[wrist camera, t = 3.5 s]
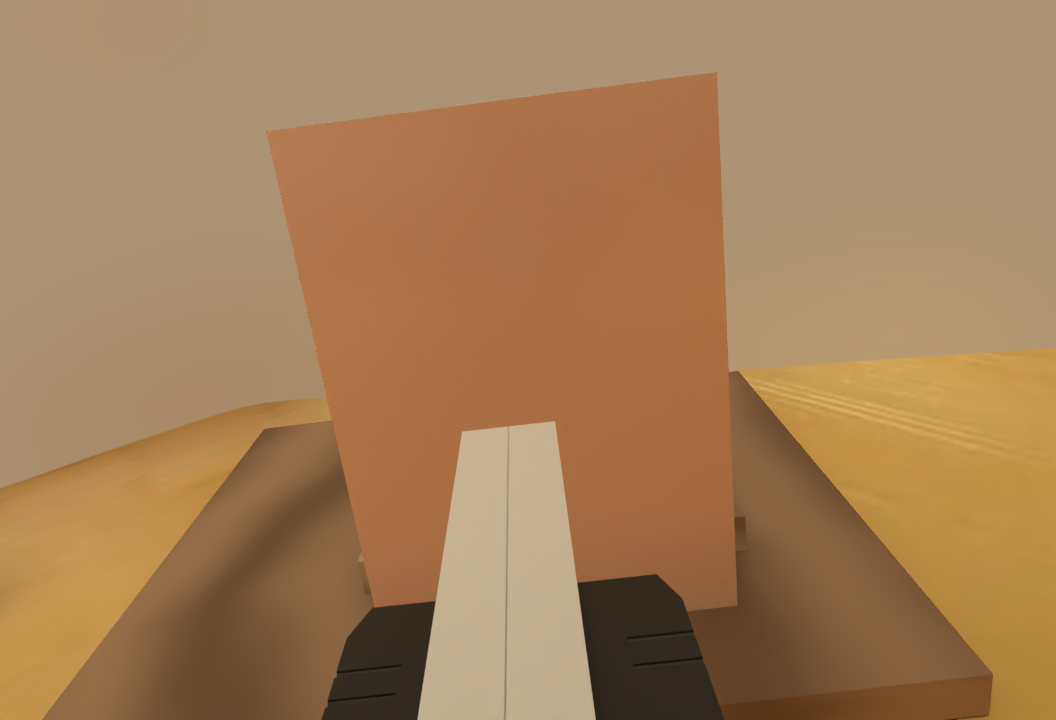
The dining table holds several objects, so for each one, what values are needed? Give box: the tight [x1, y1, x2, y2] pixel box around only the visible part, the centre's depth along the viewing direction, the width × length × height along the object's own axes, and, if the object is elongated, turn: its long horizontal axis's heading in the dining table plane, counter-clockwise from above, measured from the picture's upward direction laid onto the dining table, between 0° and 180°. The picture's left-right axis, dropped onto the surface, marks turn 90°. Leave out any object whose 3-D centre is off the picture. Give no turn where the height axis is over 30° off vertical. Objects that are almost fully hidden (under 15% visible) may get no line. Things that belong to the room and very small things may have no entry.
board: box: [42, 371, 993, 720], centre depth 28 cm, size 24×21×2 cm
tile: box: [266, 72, 738, 611], centre depth 20 cm, size 10×2×14 cm, turn 91°
